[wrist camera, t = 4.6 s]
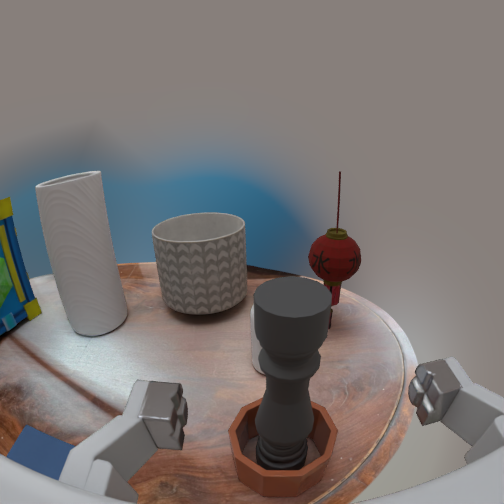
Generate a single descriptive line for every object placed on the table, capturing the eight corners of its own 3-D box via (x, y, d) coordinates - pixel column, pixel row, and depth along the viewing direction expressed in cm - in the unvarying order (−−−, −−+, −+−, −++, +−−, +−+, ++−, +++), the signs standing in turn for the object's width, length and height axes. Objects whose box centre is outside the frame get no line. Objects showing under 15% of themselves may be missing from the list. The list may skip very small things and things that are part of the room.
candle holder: (280, 487, 27) (297, 332, 17) (246, 458, 31) (232, 294, 22) (315, 457, 31) (352, 293, 21) (280, 432, 35) (289, 268, 25)
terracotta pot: (331, 494, 25) (343, 473, 23) (227, 494, 26) (220, 473, 24) (324, 423, 36) (332, 393, 33) (237, 423, 37) (234, 393, 34)
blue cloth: (65, 519, 18) (63, 518, 18) (-3, 476, 20) (-5, 475, 19) (93, 453, 29) (92, 452, 29) (27, 425, 31) (26, 424, 30)
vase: (138, 305, 66) (115, 167, 54) (111, 343, 53) (71, 181, 41) (91, 300, 67) (64, 175, 55) (60, 332, 54) (20, 190, 42)
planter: (246, 327, 58) (242, 240, 51) (154, 325, 59) (138, 243, 52) (248, 281, 76) (246, 211, 69) (175, 282, 76) (166, 214, 69)
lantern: (293, 327, 58) (298, 170, 46) (324, 309, 63) (333, 166, 52) (330, 349, 51) (348, 177, 39) (359, 327, 56) (379, 173, 45)
